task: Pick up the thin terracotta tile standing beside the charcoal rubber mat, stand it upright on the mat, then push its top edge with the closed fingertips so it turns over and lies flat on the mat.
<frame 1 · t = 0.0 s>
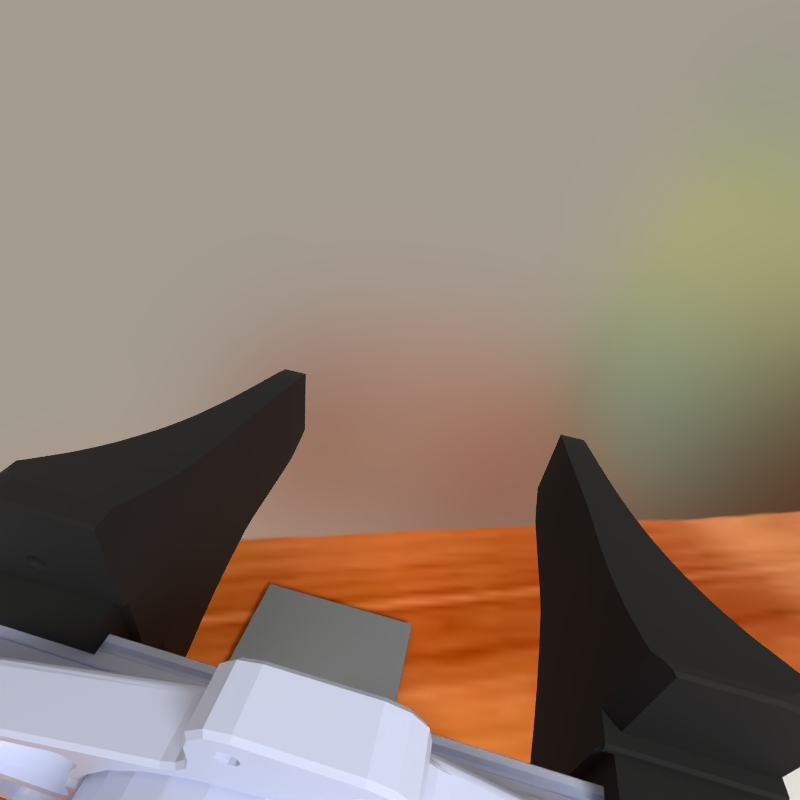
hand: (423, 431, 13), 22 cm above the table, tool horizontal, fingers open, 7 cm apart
mat: (285, 756, 25), on the table
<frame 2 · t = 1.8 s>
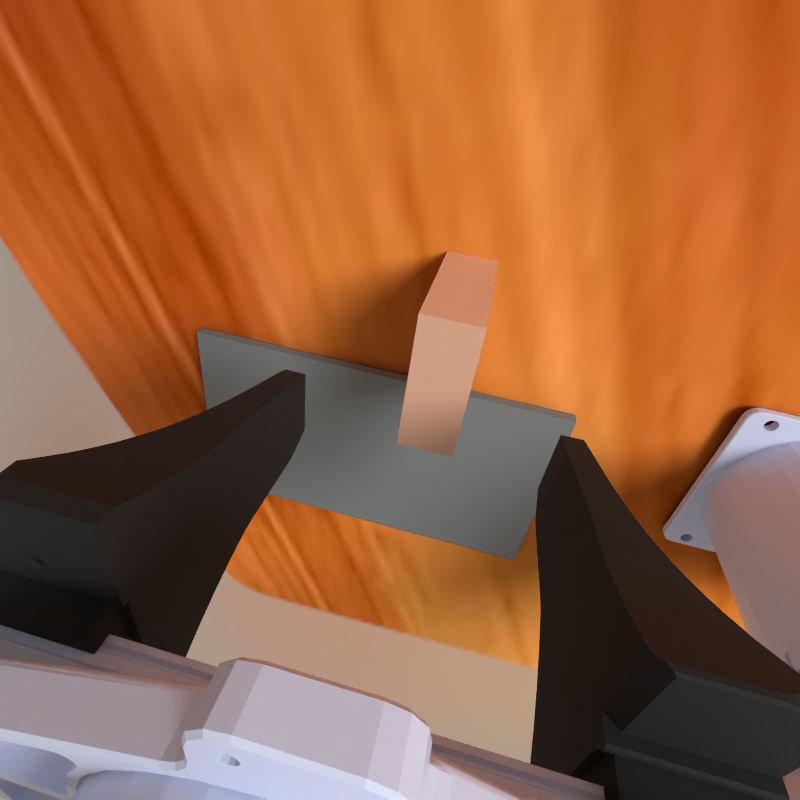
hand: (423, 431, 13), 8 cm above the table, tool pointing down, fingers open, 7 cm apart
mat: (370, 449, 25), on the table
tile: (459, 314, 20), on the table
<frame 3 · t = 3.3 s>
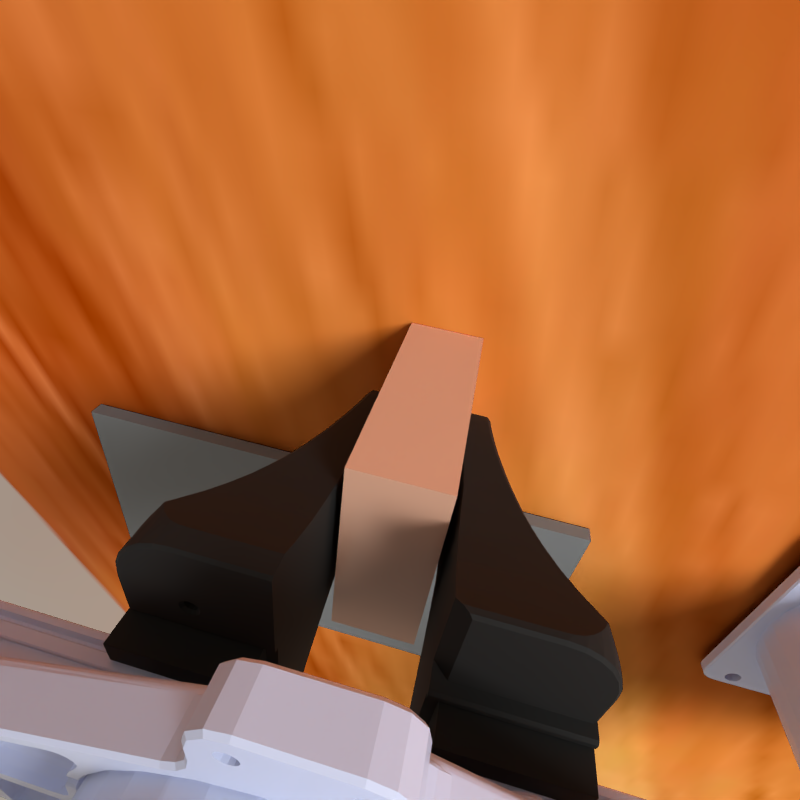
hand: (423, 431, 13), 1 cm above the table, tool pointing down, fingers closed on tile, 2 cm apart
mat: (326, 550, 20), on the table
tile: (431, 403, 14), on the table, touching gripper
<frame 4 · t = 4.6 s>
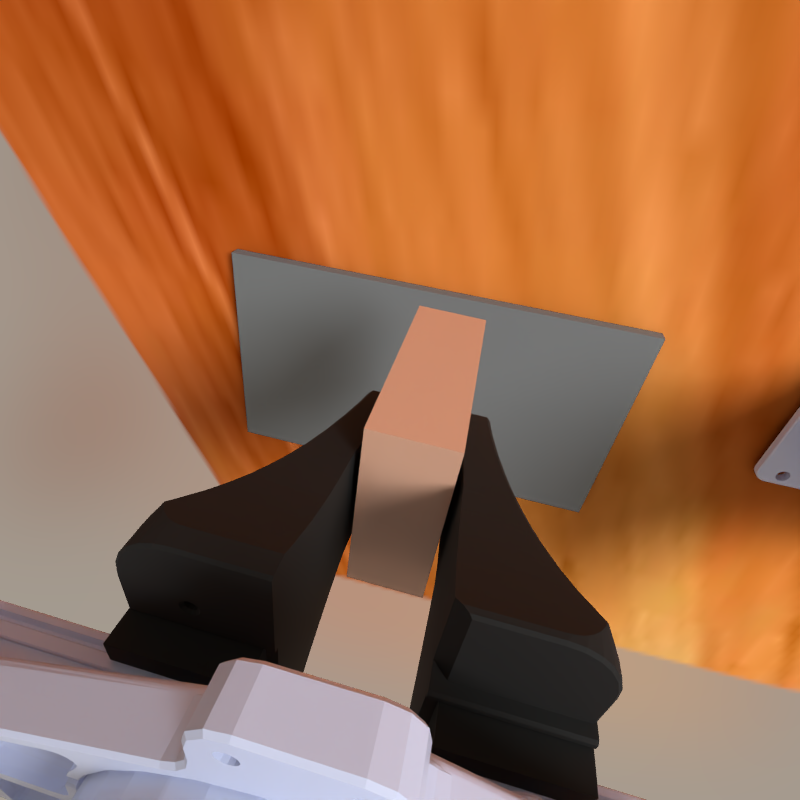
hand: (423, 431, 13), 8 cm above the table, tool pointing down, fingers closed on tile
mat: (421, 387, 23), on the table
tile: (437, 382, 15), point 6 cm above the table, touching gripper
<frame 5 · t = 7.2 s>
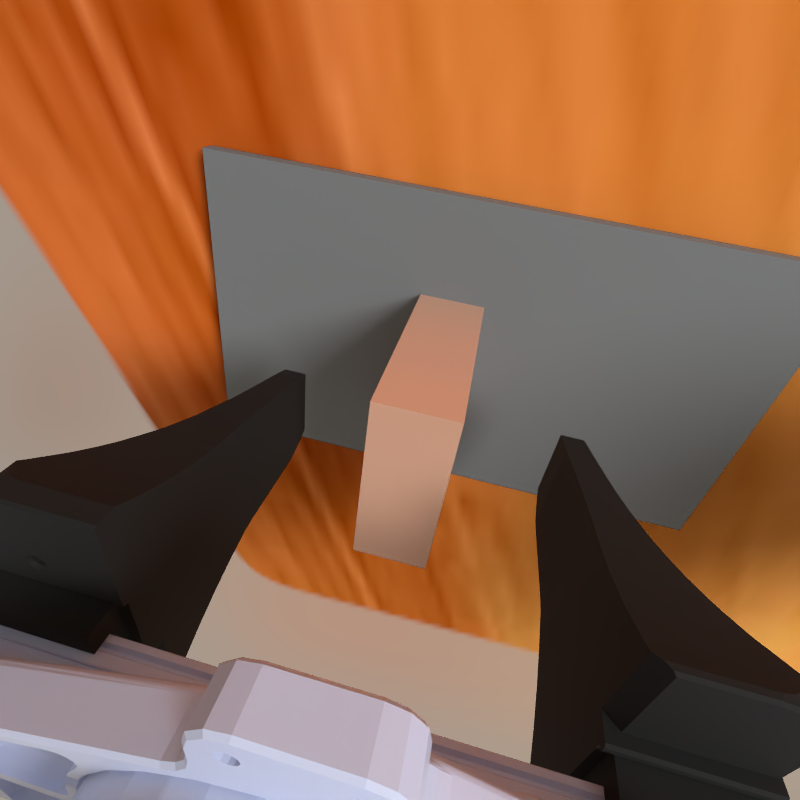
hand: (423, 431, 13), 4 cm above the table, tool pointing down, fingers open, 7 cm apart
mat: (473, 356, 16), on the table
tile: (438, 368, 16), resting on mat
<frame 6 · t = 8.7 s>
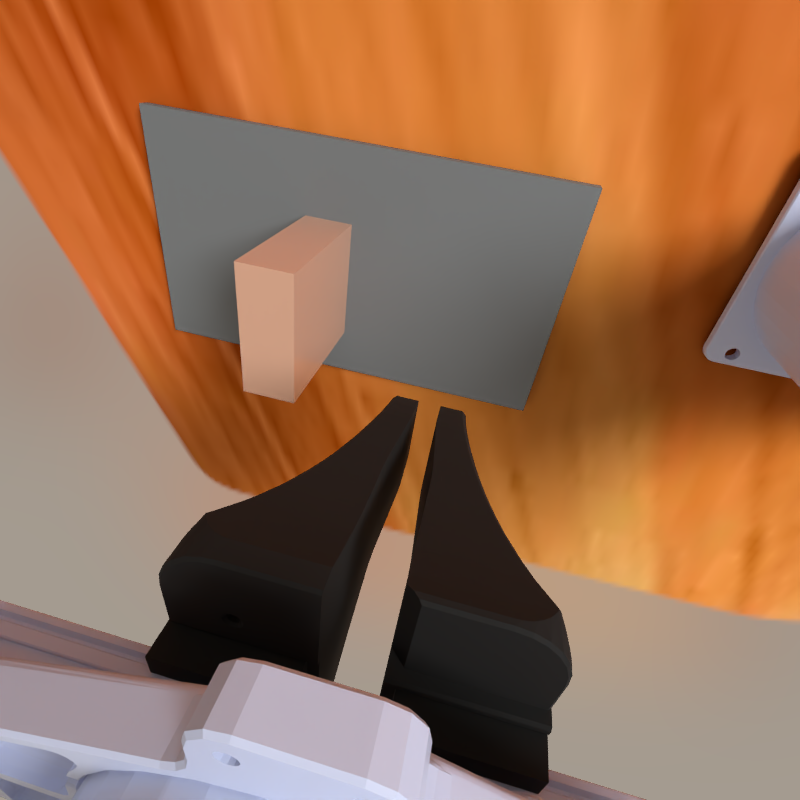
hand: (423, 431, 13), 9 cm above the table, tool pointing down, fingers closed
mat: (353, 268, 21), on the table
tile: (326, 277, 21), resting on mat
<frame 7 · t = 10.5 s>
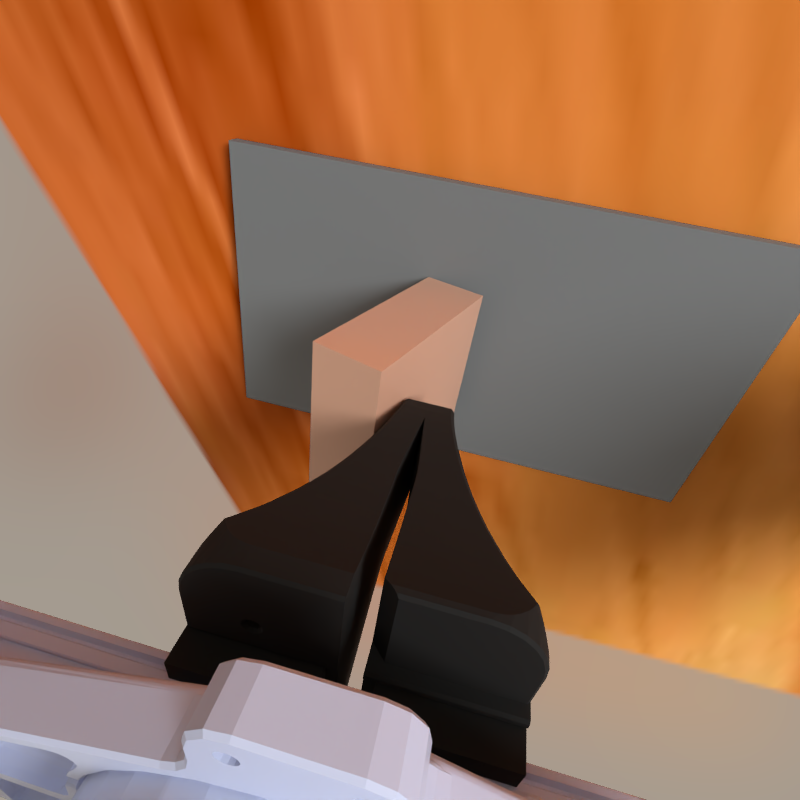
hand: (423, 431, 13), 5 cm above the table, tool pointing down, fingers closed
mat: (476, 336, 17), on the table
tile: (441, 351, 17), point 1 cm above the table, tilted 19°, touching mat
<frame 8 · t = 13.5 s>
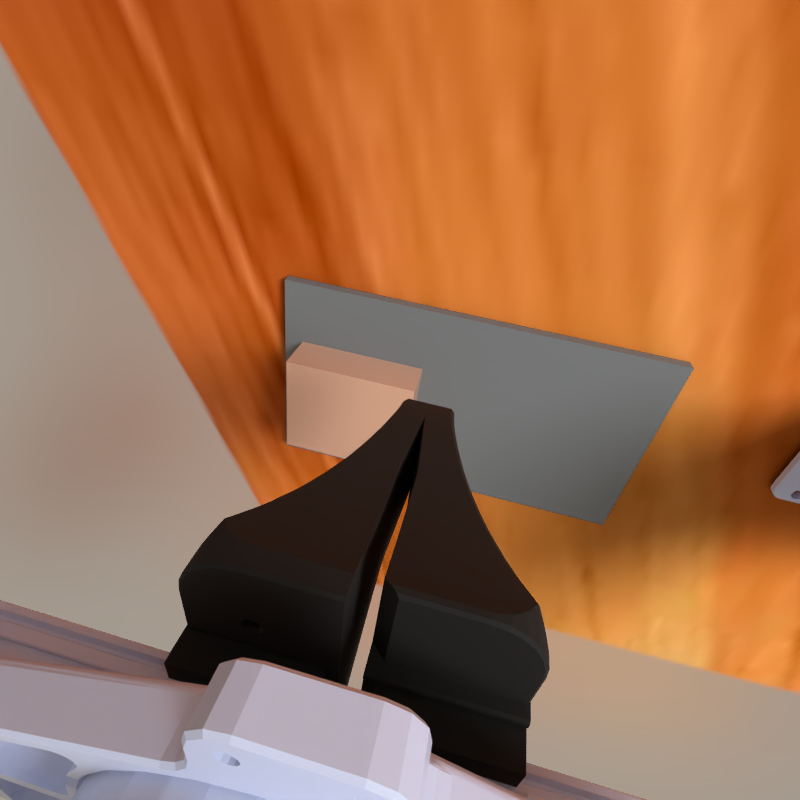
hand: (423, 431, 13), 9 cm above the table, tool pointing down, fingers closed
mat: (458, 406, 24), on the table
tile: (410, 422, 23), point 1 cm above the table, tilted 90°, touching mat
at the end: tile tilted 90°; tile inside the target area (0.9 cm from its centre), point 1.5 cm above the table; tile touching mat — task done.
